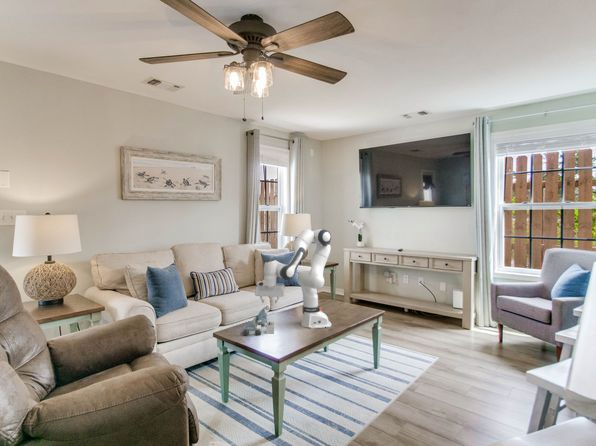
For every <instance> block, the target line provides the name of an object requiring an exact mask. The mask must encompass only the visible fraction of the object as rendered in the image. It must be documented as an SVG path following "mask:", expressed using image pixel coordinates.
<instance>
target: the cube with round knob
mask: <svg viewBox="0 0 596 446" xmlns="http://www.w3.org/2000/svg"><path fill="white" fill-rule="evenodd" d="M265 325H266V326H265V327H266V329H265V330H266V333H265V334H266V335H274V333H275V323H274V322H271V321H270V322H267V323H266V324H265Z"/></svg>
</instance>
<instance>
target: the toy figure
mask: <svg viewBox="0 0 596 446" xmlns="http://www.w3.org/2000/svg"><path fill="white" fill-rule="evenodd" d="M266 311H270V307H269V305H265V306H264V307H263V308H262V309H261V310H260V311H259V313H258V315H255V317H253V320H252V323H256V324H257V325H259V324H260V325H261V326H262V327H264V326H265V325H267V323H268V316H267V312H266Z"/></svg>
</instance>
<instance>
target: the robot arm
mask: <svg viewBox="0 0 596 446" xmlns="http://www.w3.org/2000/svg"><path fill="white" fill-rule="evenodd" d="M331 234H332V233H331V232H330V231H329V230H328V229H320V228H319V229H312V230H311V229H309V228H305V229H304V230H302V231H301V232H300V233H299V234H298V235H297V237H295V239H294V241H293V242H292V247H291V248H292V250H293V252H294V255H293V257H292V258H291V259H290V262H289V263H288V264H285V263H283V262H282V263H281V262H279V261H277V259H275V258H272V259H271V258H270V259H267V260H265V262H264V265H263V274H264V276H263V279H262V280H259V281H257V282H256V287H255V291H254V296H256V297H259V298H260V301H261V303H262V304H263V303H265V299H263V297H272V298H274V297H275V298H276V300H274V303H275V304H278V300H279V299H280V298H283V297H284V296H285V289H286V285H285V283H282V282H281V283H280V282H277V278H281V279H283V280H285V281H290V280H292V279H293V278H294V276H295V275H296V272H297V268H298V267H299V265H300V263H301V262H302V260H303V259H304V258H305V255H306V252H307V250H308V248H309V246H310V245H311V244H316V249H315V251H314V253H313V254H312V255H313V256H312V257H311V259H310V267H311V269H310V271H307V270H306V271H303V270H302V271H301V272H299V273H298V274H297V282H298V284H299V285H300V287H301V293H302V304H303V305H302V308H301V309H302V310H301V311H302V319H301V322H300V326H302V327H304V328H308V329H311V330H312V329H324V328H325V327H326V328H331V327H332V322H331V321H330V320H329V317H328V316H327V314H326V313H324V312H323V311H322V310H323V309H322V307H321V306H320V305H319V295H318V293H317V291H316V289H317V290H318V289H322V288H323V286H324V285H325V277H324V271H325V270H324V269H325V266H326V265H327V261H328V259H329V256H330V254H331V249H332V247H331V245H330V244H331V240H332V235H331Z"/></svg>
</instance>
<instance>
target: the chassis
mask: <svg viewBox="0 0 596 446" xmlns="http://www.w3.org/2000/svg"><path fill="white" fill-rule="evenodd" d="M262 329H263V326H261V325H260V324H244V325H243V330H242V334H243V336H245V337H248V336H249V335H252V336H253V335H255V336H257V337H260V336H261V335H262V331H263V330H262Z"/></svg>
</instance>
